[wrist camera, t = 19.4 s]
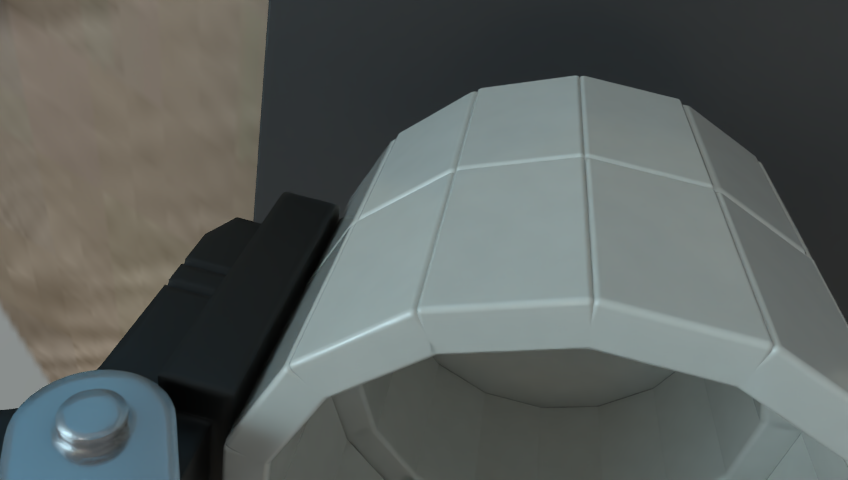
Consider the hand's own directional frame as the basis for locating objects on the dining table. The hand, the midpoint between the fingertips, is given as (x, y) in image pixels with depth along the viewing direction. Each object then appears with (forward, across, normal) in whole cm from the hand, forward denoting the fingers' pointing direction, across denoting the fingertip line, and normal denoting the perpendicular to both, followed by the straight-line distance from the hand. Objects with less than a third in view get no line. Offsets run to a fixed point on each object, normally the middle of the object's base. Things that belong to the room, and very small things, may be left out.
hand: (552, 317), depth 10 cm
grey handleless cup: (+1, 0, 0) cm, 1 cm away
